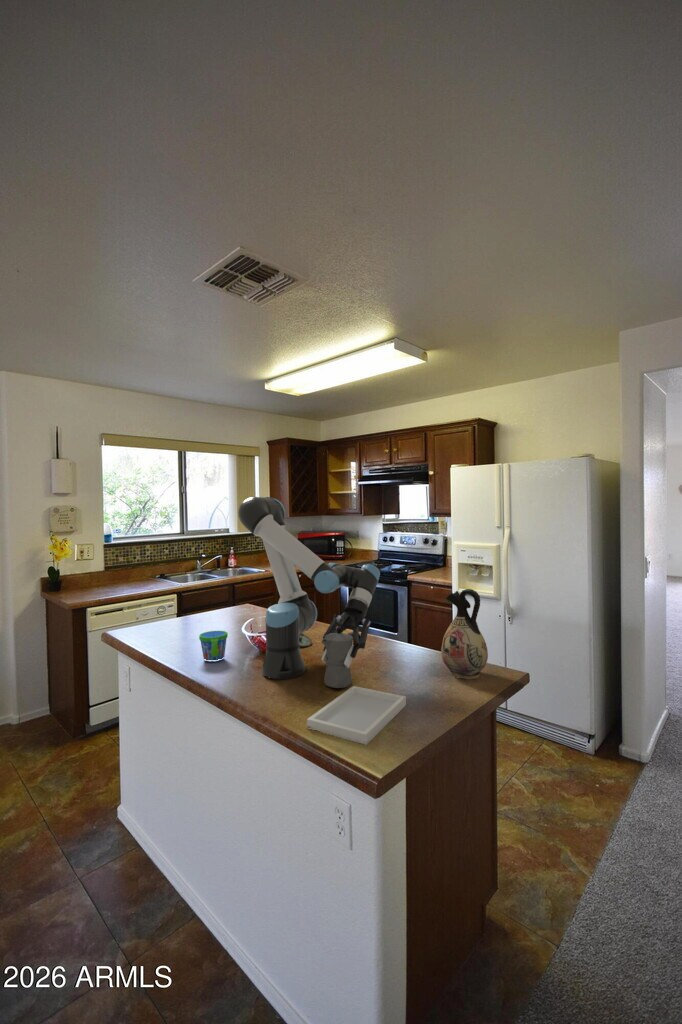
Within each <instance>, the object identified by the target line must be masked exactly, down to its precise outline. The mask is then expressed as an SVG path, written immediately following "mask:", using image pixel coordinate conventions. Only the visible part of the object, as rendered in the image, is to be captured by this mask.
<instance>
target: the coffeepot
mask: <svg viewBox="0 0 682 1024" xmlns="http://www.w3.org/2000/svg"><path fill="white" fill-rule="evenodd" d="M341 630H342V628H337V633H330V634H328V635H326V636H325V638H324V639H323V638H322V639H321V643H322V644H323V645H324V647H326V651H327V657H328V661H327V664H326V668H325V672H324V679H323V681H324V684H325V686H328V687H330V688H334V689H344V688H348V687H349V686H351V685H352V683H353V680H352V673H351V665H350V666H349V668H346V666H345V665H344V662H345V659H346V656H347V654H348V651H349V649H350V648H351V646H353V631H351V632H347V633H343V632H342V633H341ZM358 635H359V640H360V636H361V634H360V633H359V634H358Z"/></svg>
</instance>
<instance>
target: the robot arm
mask: <svg viewBox="0 0 682 1024" xmlns="http://www.w3.org/2000/svg"><path fill="white" fill-rule="evenodd" d="M237 514H238V520H239V521H240V523H241V524H242V525H243V527H245V529H247V531H249V532H250V533H251V534H253V536H255V537H260V539H262V543H263V546H264V549H265V552H266V555H267V559H268V561H269V565H270V570H271V572H272V575H273V579H274V581H275V584H276V587H277V588H276V589H277V591H278V593H279V599H278V602H277V603H276V604H273V605H271V606H269V607H268V608H267V609H266V611H265V639H266V640H265V642H266V645H265V647H266V649H265V650H266V651H265V655H264V657H263V661H262V666H261V675H262V674H263V675H264V676H267V677H270V678H275V679H274V680H289V678H290V679H293V678H298V677H300V676H301V675H303V674H304V673H305V671H306V667H305V666H306V665H305V662H304V659H303V656H302V653H301V651H300V647H299V635H300V634H301V633H302V634H303V633H304V632H307V631H308V630H310V629H311V628H312V627H313V626H314V624H315V622H316V621H317V618H318V608H317V607H316V605H315V604H316V603H314V601H312V600H310V599H309V595H308V593H307V592H306V591H304V590H302V587H301V584H300V581H299V577H298V574H297V571H296V568H297V569H298V570H300V571H301V572H302V573H303V574H305V576H307V577H308V578H309V579H311V581H312V582H314V583H313V584H314V587H315V589H316V590H317V591H318V592H320V593H321V594H329V593H330V594H331V593H333V592H335V591H337V589H340V588H343V587H345V588H349V589H352V590H351V592H350V595H349V597H348V600H347V602H346V604H345V606H344V607H345V608H344V611H343V613H342V614H341V615H337V614H336V613H335V614H333V618H332V621H331V622H330V624H329V626H328V627H327V629H326V631H325V632H324V634H323V636H322V640H323V639H324V638H325V636H326V635H328V634H330V633H337V628H342V630H341V633H343V632H344V631H347V629H352V632H353V643H352V646H351V648H350V649H349V651H348V654H347V656H346V659H345V662H344V665H345V666H346V668H349V666H350V667H351V664H352V661H353V659H355V658H356V657H357V653H358V651H359V649H362V650H364V649H365V647H366V644H367V643H366V642H367V638H368V634H369V628H370V626H372V622H371V621H370V619H369V618H368V617H366V615H367V612H368V609H369V607H370V604H371V602H372V599H373V596H374V593H375V591H376V588H377V586H378V584H379V579H380V577H381V572H380V569H379V568H378V567H377V566H375V565H373V564H369V563H367V564H363V565H362V566H361V568H356V567H352V566H348V565H344V564H340V563H337V562H329V563H326V562H325V561H324V560H323V559H322V558H320V557H319V556H318V555H317V554H316V553H314V552H313V551H312V550H311V549H309V547H307V546H306V545H304V544H303V543H302V542H301V541H300V540H298V539H297V538H296V537H295V536H294V535H292V534H291V533H290V532H289V531H288V530H286V529H285V528H286V523H285V521H284V520H285V518H286V509H285V506H284V505H283V503H282V502H281V501H280V500H278V499H277V498H273V497H270V496H265V497H264V496H260V497H259V496H251V497H248V498H246V499H244V500H243V501H242V502H241V503H240V505H239V507H238V512H237ZM295 567H296V568H295ZM365 617H366V618H365ZM360 625H362V627H361V631H360ZM358 634H359V635H360V640H359V635H358ZM322 650H323V654H322V657H321V659H320V660H321V661H322V663H324V664H325V665H327V662H328V657H327V651H326V647H325V646H324V647H323V649H322ZM263 675H262V676H263ZM264 676H263V677H264ZM267 677H266V678H267ZM270 678H269V679H270Z"/></svg>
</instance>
